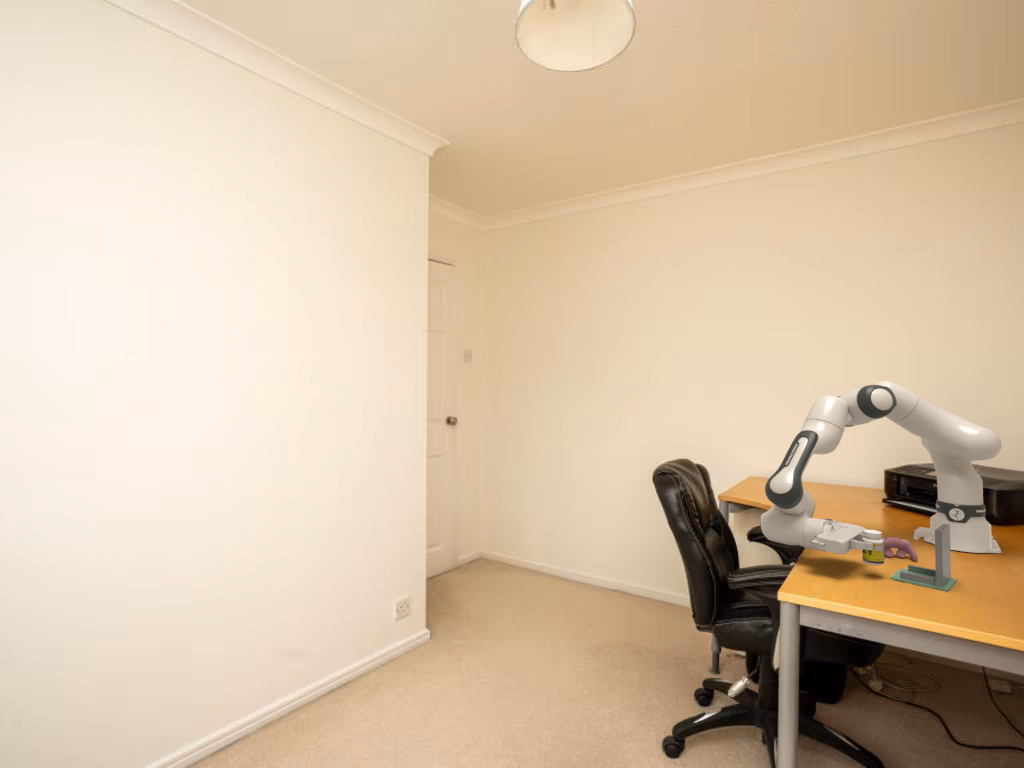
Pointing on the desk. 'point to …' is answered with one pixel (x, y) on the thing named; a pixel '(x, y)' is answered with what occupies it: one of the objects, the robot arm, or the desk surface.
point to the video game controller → (899, 548)
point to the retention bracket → (941, 558)
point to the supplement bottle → (878, 552)
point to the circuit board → (945, 588)
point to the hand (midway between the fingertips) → (876, 544)
